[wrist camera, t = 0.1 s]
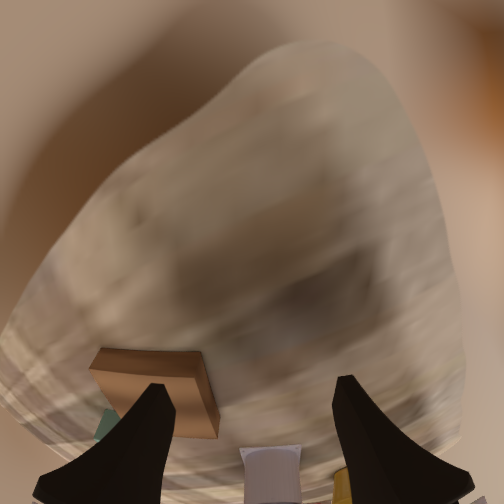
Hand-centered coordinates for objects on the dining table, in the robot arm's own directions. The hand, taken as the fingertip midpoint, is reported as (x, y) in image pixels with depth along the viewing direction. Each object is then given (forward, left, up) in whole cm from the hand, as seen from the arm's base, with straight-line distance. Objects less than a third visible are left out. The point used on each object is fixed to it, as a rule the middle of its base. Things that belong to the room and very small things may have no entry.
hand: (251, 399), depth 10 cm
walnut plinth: (-11, +10, -10) cm, 17 cm away
